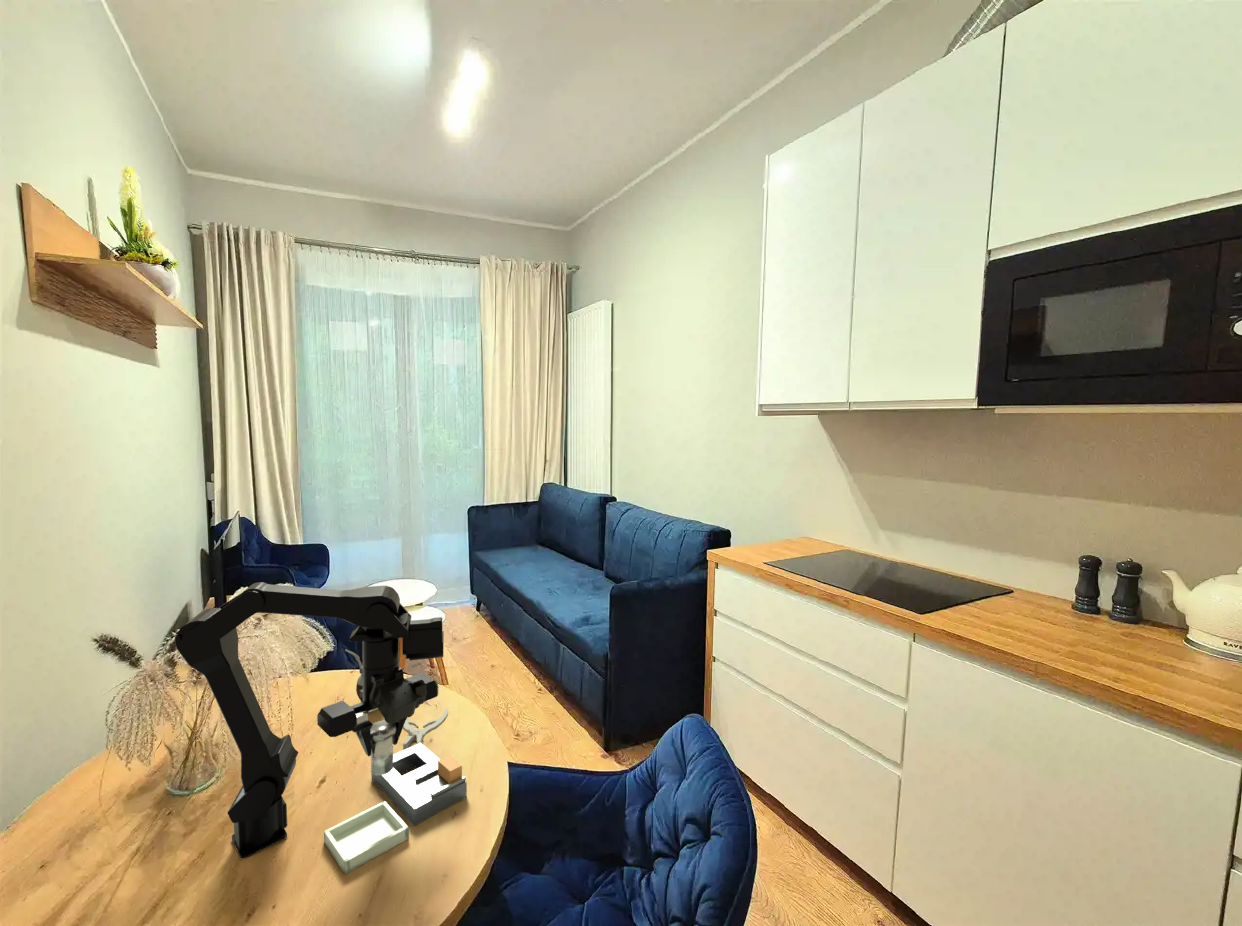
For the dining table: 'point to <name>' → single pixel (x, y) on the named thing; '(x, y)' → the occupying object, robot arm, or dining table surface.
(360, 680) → the mate gourd
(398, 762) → the metallic box with opening
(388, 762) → the pin
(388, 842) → the tray
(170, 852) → the dining table surface
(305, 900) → the dining table surface
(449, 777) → the block
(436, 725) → the pliers
